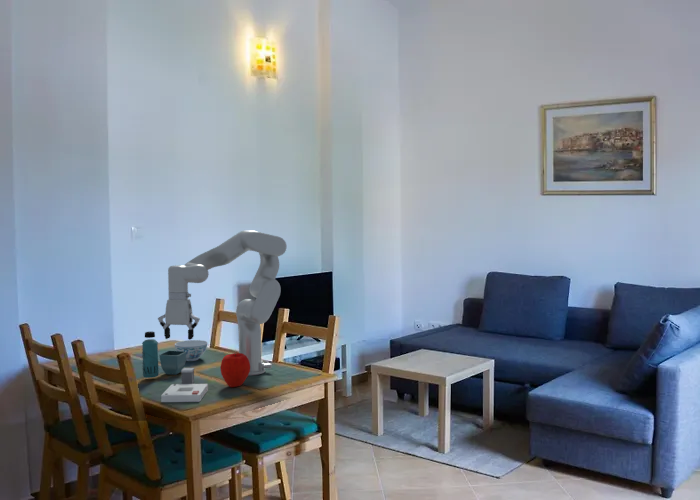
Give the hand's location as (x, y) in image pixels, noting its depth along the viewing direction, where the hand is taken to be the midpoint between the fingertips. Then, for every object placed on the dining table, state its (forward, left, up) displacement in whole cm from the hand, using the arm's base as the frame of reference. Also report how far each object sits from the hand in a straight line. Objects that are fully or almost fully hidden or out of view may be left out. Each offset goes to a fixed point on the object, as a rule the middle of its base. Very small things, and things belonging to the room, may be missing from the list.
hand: (179, 338), depth 277 cm
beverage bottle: (+14, -9, -19) cm, 25 cm away
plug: (-4, +3, -19) cm, 19 cm away
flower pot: (+7, -19, -19) cm, 27 cm away
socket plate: (-6, +17, -19) cm, 26 cm away
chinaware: (+5, -46, -19) cm, 50 cm away
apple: (-23, +4, -19) cm, 30 cm away
